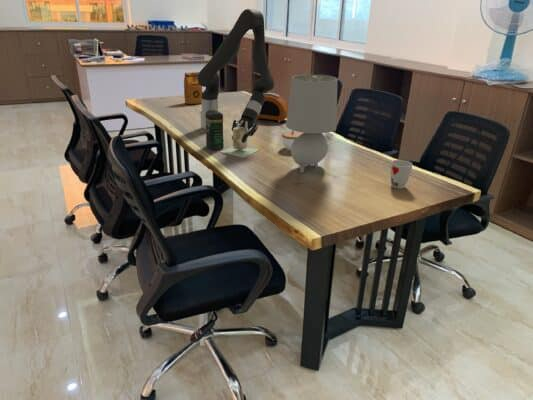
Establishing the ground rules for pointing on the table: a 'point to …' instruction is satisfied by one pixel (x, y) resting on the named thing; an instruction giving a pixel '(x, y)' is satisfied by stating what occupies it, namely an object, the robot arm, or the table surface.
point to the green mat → (240, 152)
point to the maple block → (239, 138)
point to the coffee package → (192, 88)
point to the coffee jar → (214, 129)
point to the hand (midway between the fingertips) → (238, 140)
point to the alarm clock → (273, 108)
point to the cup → (400, 173)
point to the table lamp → (311, 116)
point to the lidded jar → (289, 138)
